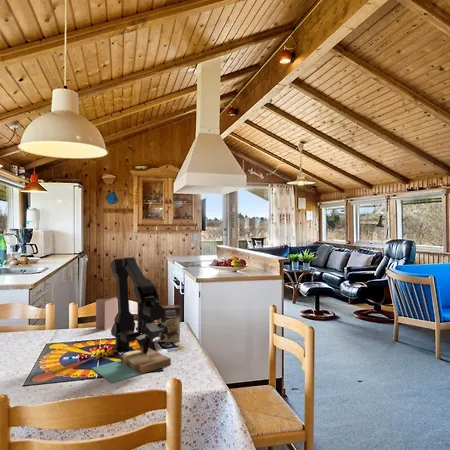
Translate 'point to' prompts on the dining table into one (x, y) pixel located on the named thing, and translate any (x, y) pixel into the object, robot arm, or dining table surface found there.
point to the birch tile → (136, 357)
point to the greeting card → (106, 312)
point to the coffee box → (171, 323)
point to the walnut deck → (149, 362)
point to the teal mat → (115, 371)
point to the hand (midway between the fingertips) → (144, 354)
